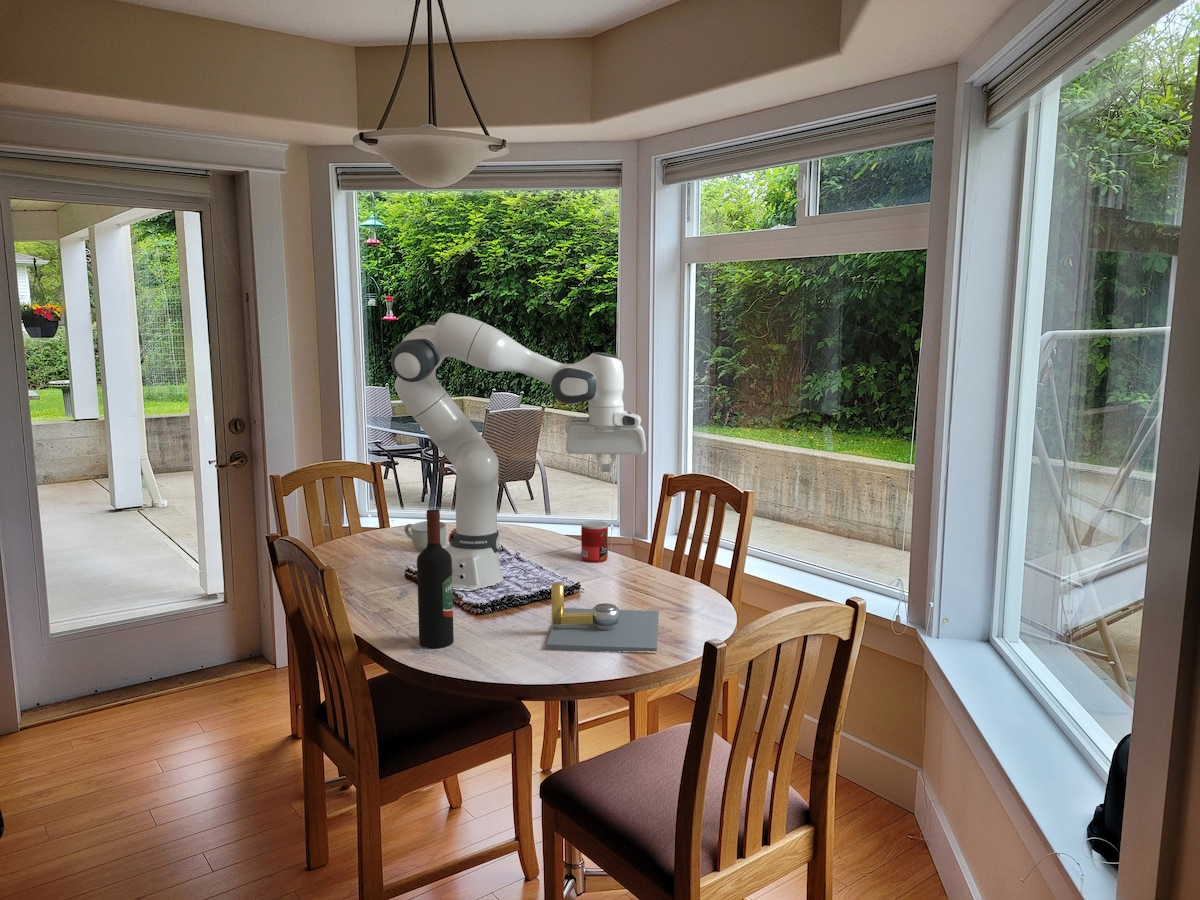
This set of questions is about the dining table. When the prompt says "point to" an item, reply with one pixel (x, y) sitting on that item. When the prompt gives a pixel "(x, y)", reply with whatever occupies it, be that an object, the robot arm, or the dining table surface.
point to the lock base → (608, 633)
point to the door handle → (601, 613)
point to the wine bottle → (435, 589)
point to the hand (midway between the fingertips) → (606, 471)
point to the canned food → (594, 541)
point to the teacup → (423, 534)
